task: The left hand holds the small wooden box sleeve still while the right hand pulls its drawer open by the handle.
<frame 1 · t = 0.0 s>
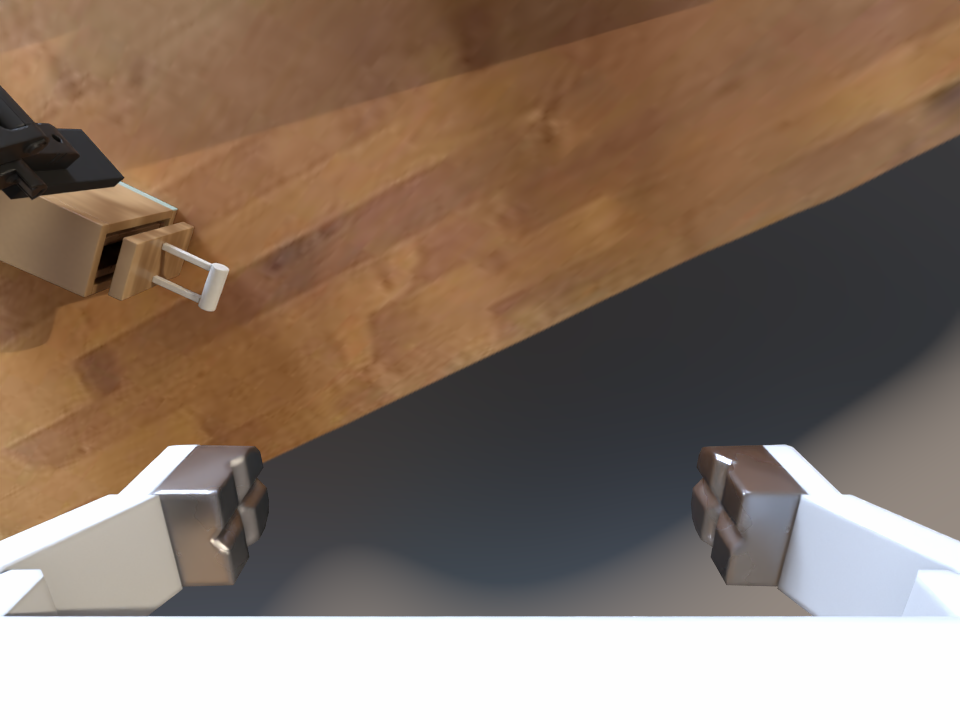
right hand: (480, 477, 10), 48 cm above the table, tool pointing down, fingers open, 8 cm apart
wooden box sleeve: (70, 193, 54), on the table
drawer: (92, 230, 50), point 6 cm above the table, slide at 1.2 cm
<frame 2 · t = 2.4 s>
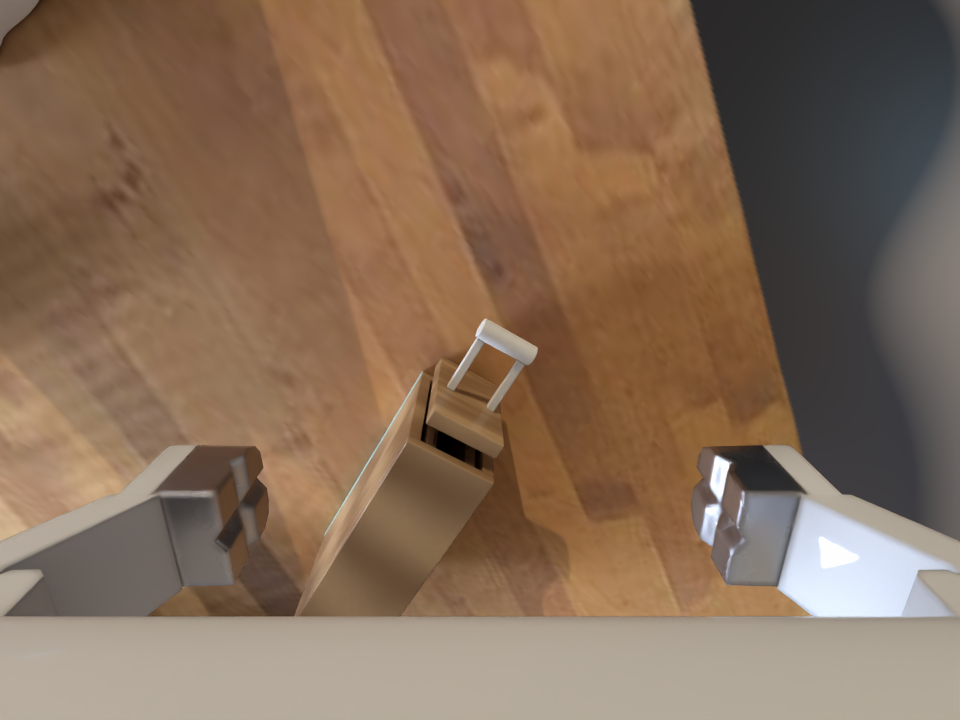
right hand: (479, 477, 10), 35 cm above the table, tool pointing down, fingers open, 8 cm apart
wooden box sleeve: (403, 472, 51), on the table
drawer: (430, 458, 43), point 6 cm above the table, slide at 1.2 cm
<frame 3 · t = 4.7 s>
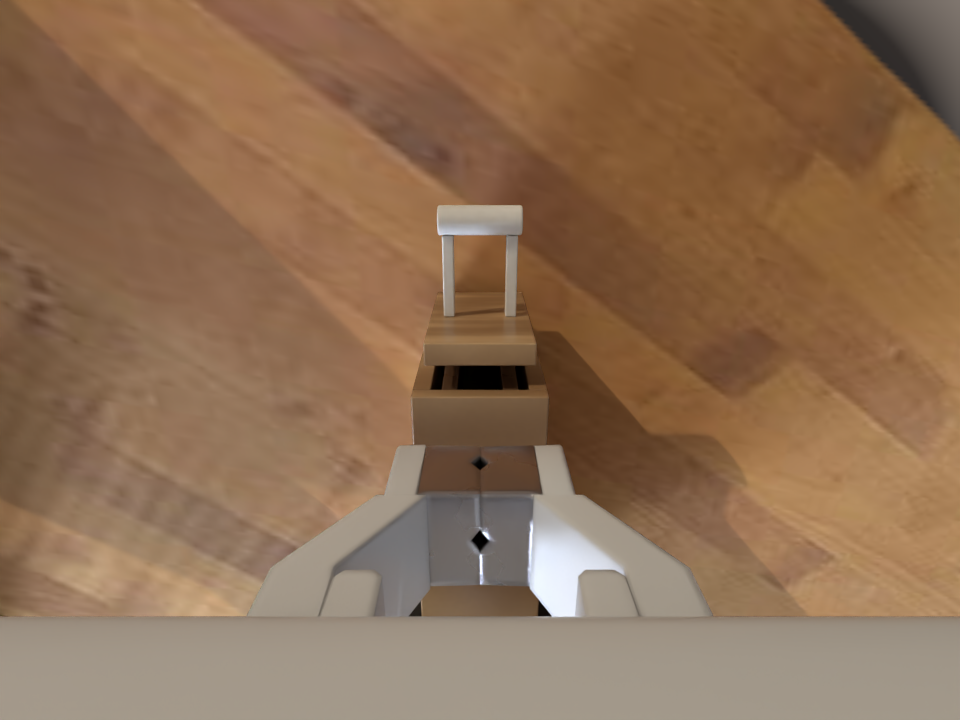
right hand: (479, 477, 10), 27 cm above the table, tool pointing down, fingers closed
wooden box sleeve: (479, 448, 41), on the table, touching left hand
drawer: (479, 412, 33), point 6 cm above the table, slide at 1.2 cm
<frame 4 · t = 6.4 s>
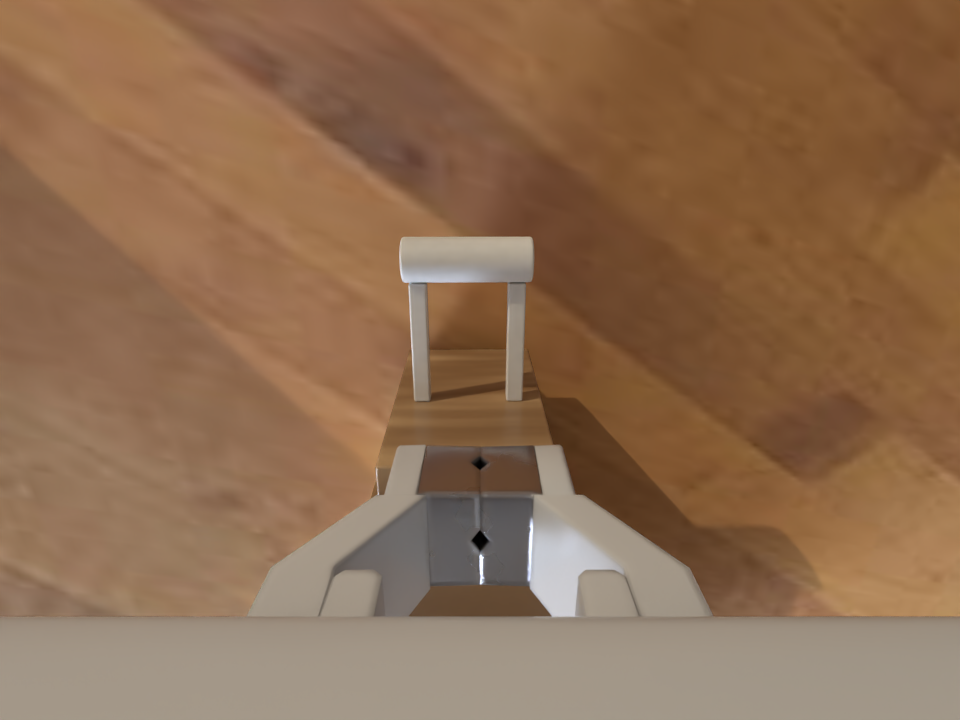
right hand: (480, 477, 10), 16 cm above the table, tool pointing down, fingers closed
wooden box sleeve: (470, 547, 31), on the table, touching left hand
drawer: (469, 529, 23), point 6 cm above the table, slide at 1.2 cm
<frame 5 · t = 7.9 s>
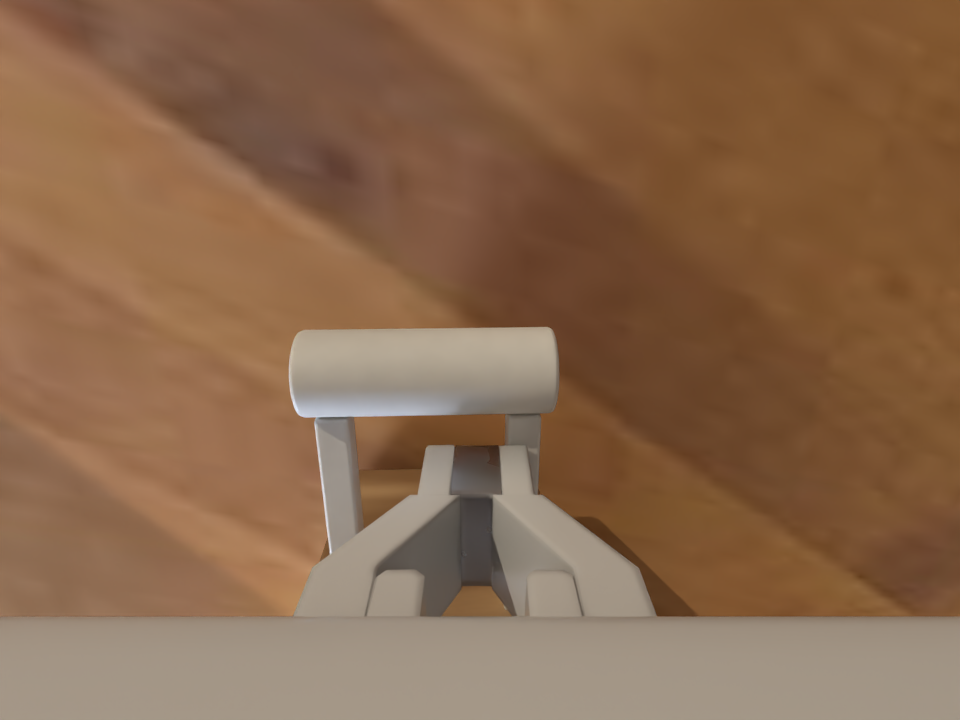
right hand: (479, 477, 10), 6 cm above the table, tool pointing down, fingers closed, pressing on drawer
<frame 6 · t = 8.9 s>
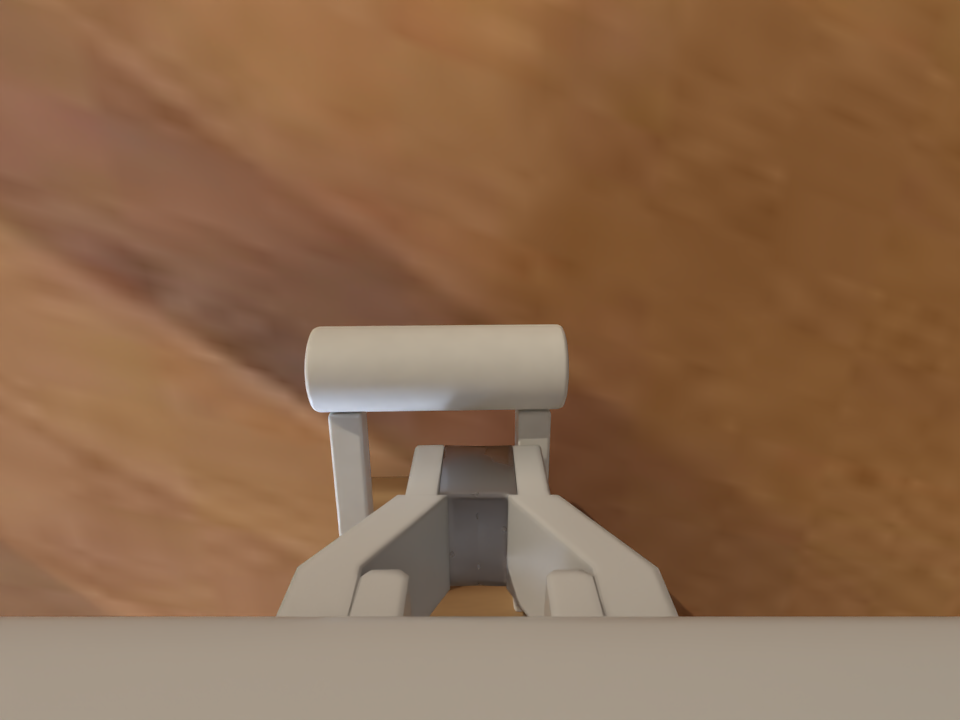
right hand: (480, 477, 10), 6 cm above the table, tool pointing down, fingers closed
when the left hand's fingers open (6 cm above the table, at t = 10.5 s): wooden box sleeve stays where it is, on the table.
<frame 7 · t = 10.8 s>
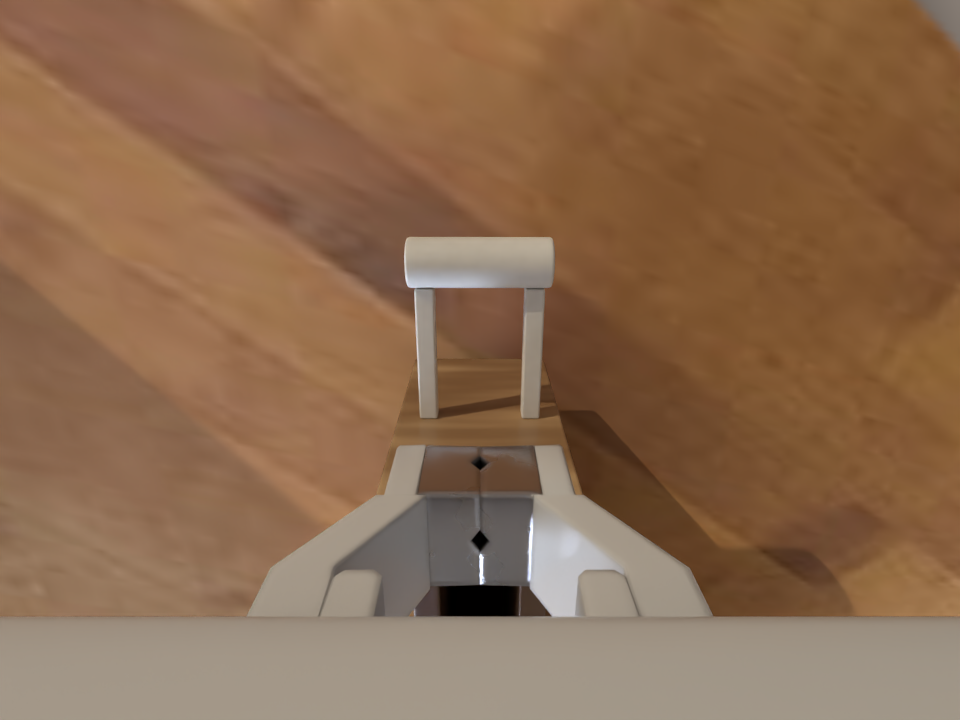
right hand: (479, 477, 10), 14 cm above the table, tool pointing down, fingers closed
drawer: (479, 555, 21), point 6 cm above the table, slide at 6.7 cm
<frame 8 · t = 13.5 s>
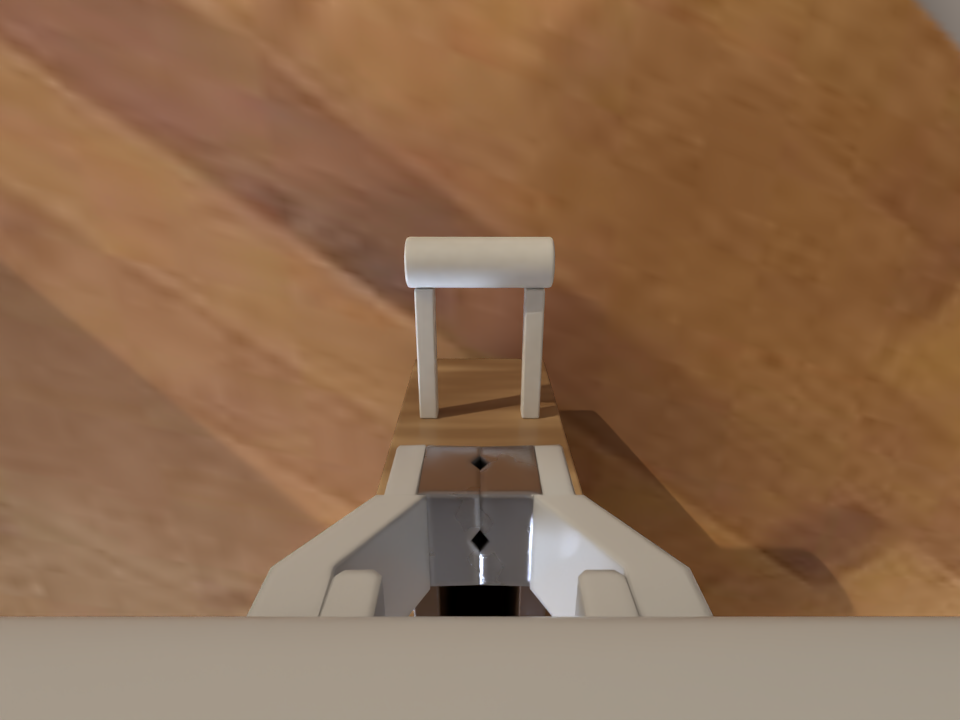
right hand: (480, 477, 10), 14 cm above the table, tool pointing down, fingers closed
drawer: (479, 555, 21), point 6 cm above the table, slide at 6.7 cm
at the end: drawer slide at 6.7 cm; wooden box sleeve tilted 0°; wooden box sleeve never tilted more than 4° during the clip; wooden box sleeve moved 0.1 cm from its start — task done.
